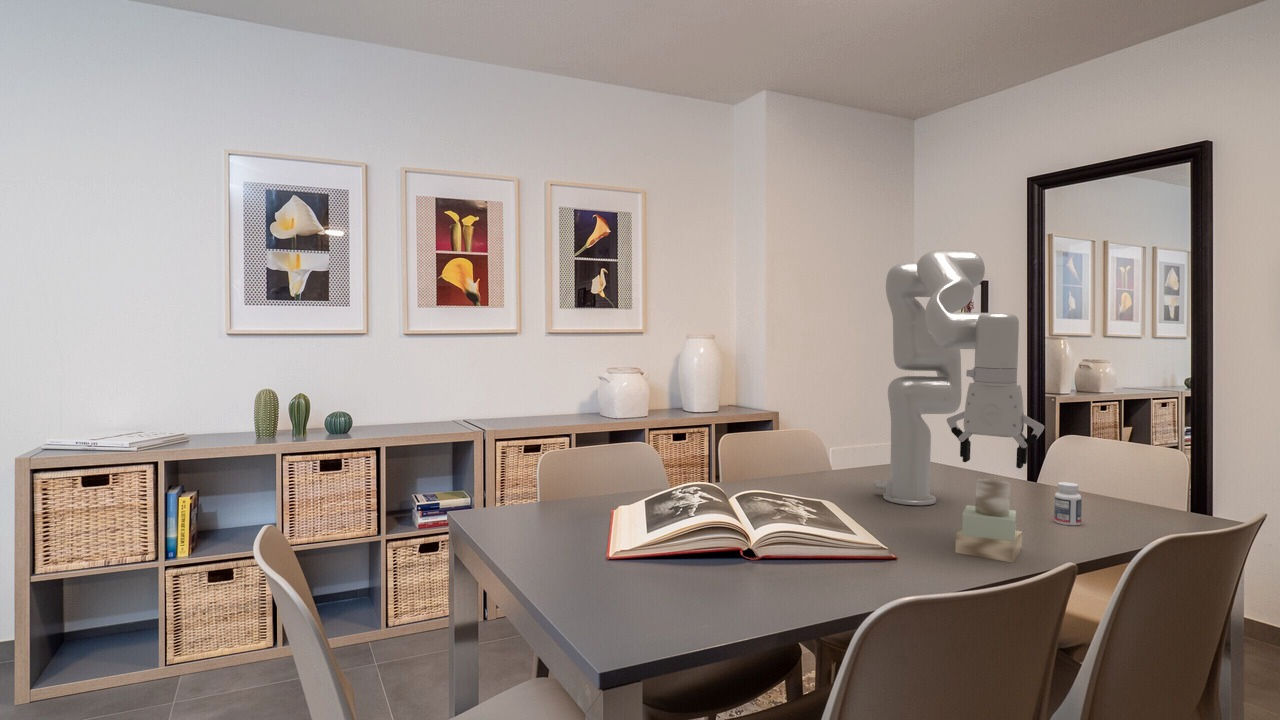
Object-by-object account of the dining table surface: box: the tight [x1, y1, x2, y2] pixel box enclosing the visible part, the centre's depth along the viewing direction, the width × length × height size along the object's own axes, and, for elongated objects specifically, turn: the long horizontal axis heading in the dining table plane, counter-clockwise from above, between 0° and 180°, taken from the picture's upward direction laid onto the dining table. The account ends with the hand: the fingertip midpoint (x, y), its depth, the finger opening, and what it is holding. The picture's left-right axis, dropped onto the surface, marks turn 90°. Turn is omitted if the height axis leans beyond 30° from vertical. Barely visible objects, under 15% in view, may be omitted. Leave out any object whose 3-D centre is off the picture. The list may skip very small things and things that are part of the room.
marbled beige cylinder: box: [974, 478, 1011, 516], centre depth 143 cm, size 6×6×6 cm
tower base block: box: [954, 528, 1023, 563], centre depth 143 cm, size 10×10×4 cm
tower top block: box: [961, 504, 1017, 542], centre depth 143 cm, size 9×9×4 cm
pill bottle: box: [1053, 481, 1083, 526], centre depth 165 cm, size 5×5×9 cm
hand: (992, 464), depth 143 cm, fingers open, 9 cm apart
